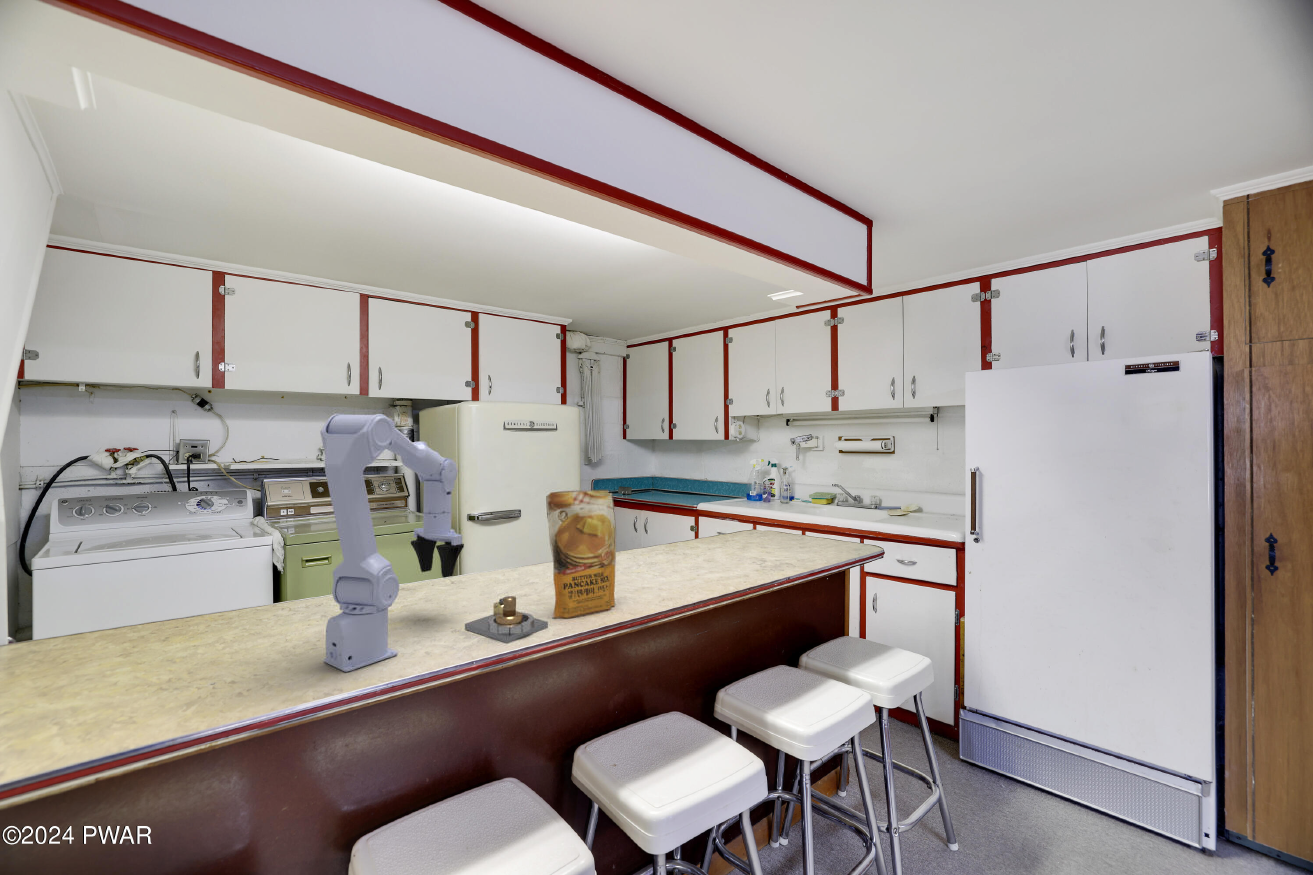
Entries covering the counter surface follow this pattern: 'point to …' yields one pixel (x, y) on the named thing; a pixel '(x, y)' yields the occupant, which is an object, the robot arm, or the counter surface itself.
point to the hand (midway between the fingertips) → (436, 573)
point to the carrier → (505, 626)
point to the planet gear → (509, 612)
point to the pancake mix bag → (582, 551)
